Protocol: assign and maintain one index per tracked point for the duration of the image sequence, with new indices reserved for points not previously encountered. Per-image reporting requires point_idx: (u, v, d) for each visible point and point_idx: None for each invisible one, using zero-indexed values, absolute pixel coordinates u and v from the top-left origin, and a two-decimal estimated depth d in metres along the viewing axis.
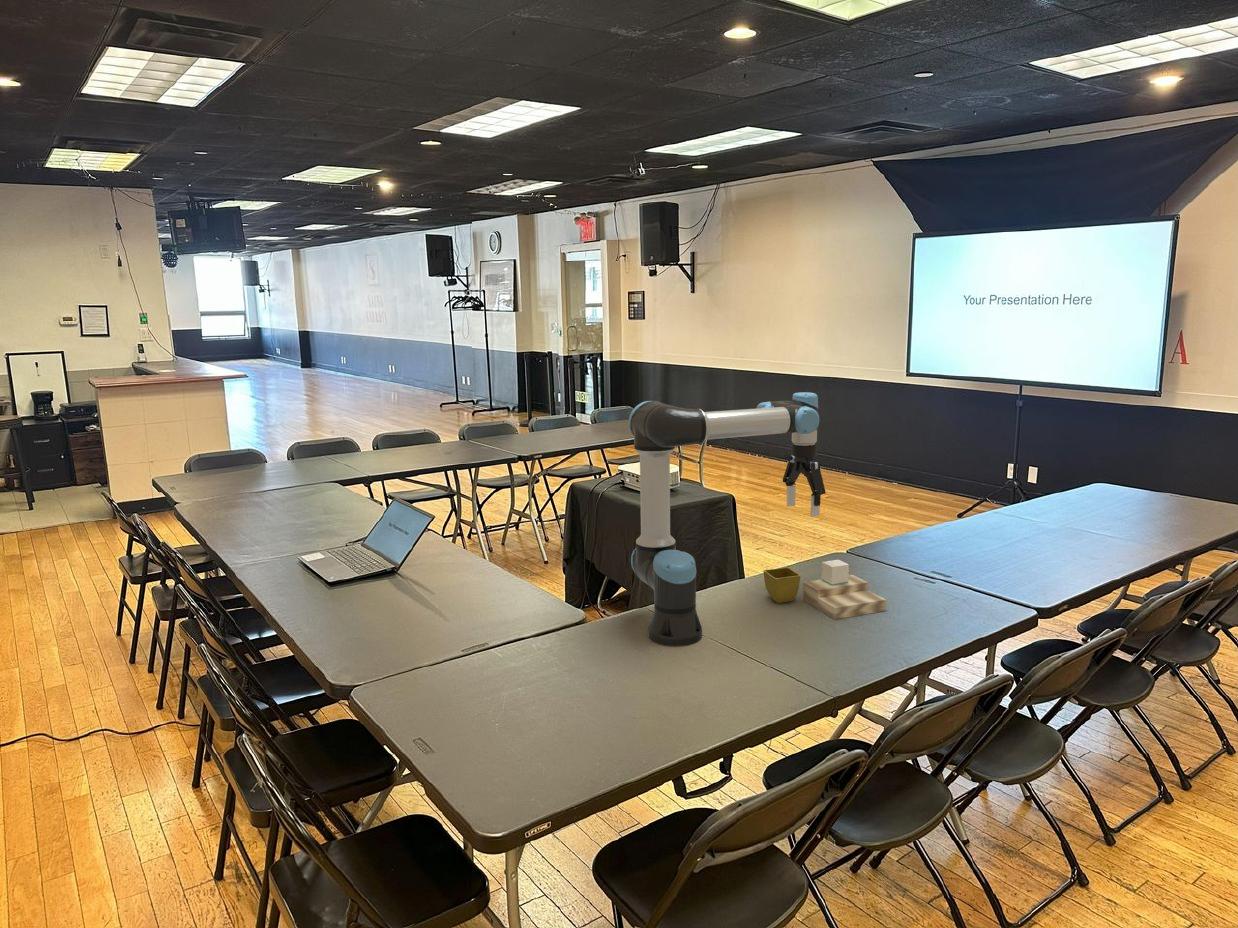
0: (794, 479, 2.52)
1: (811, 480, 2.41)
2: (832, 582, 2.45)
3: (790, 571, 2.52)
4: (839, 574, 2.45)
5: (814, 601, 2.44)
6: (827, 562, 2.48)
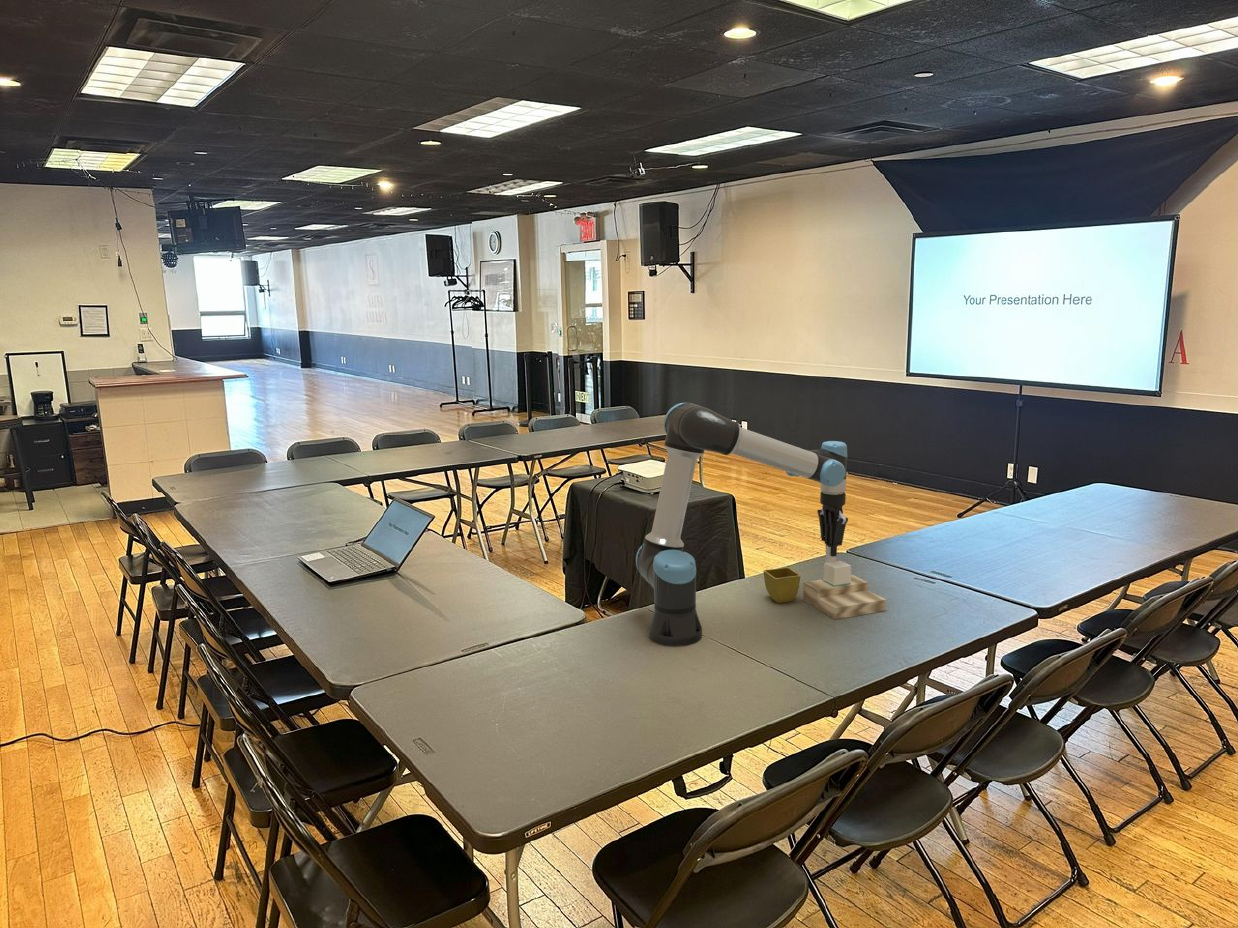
0: None
1: (833, 532, 2.46)
2: (834, 583, 2.44)
3: (790, 571, 2.52)
4: (841, 575, 2.44)
5: (814, 601, 2.44)
6: (829, 563, 2.47)
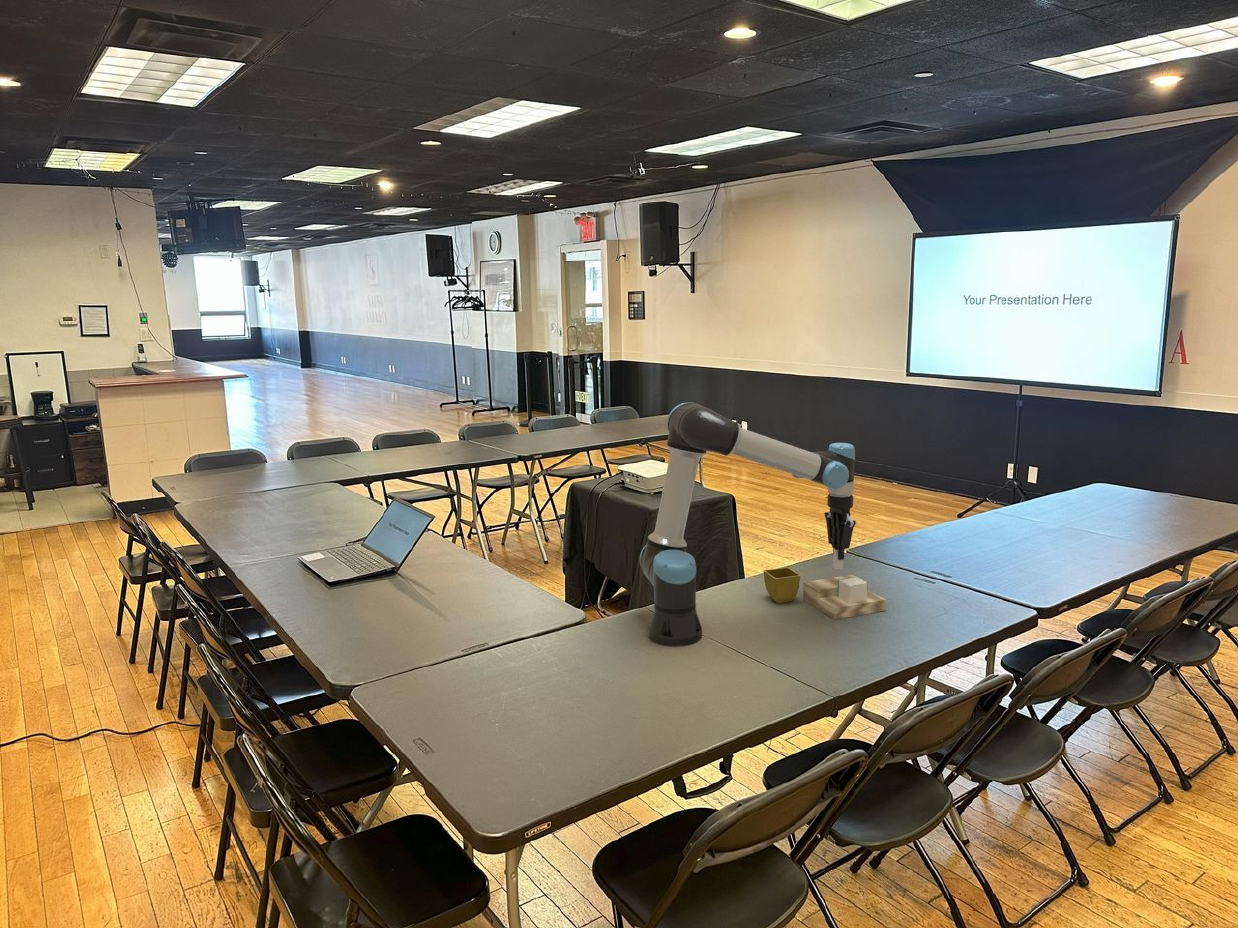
0: None
1: (840, 535, 2.42)
2: None
3: (790, 571, 2.52)
4: None
5: (814, 601, 2.44)
6: (853, 588, 2.37)
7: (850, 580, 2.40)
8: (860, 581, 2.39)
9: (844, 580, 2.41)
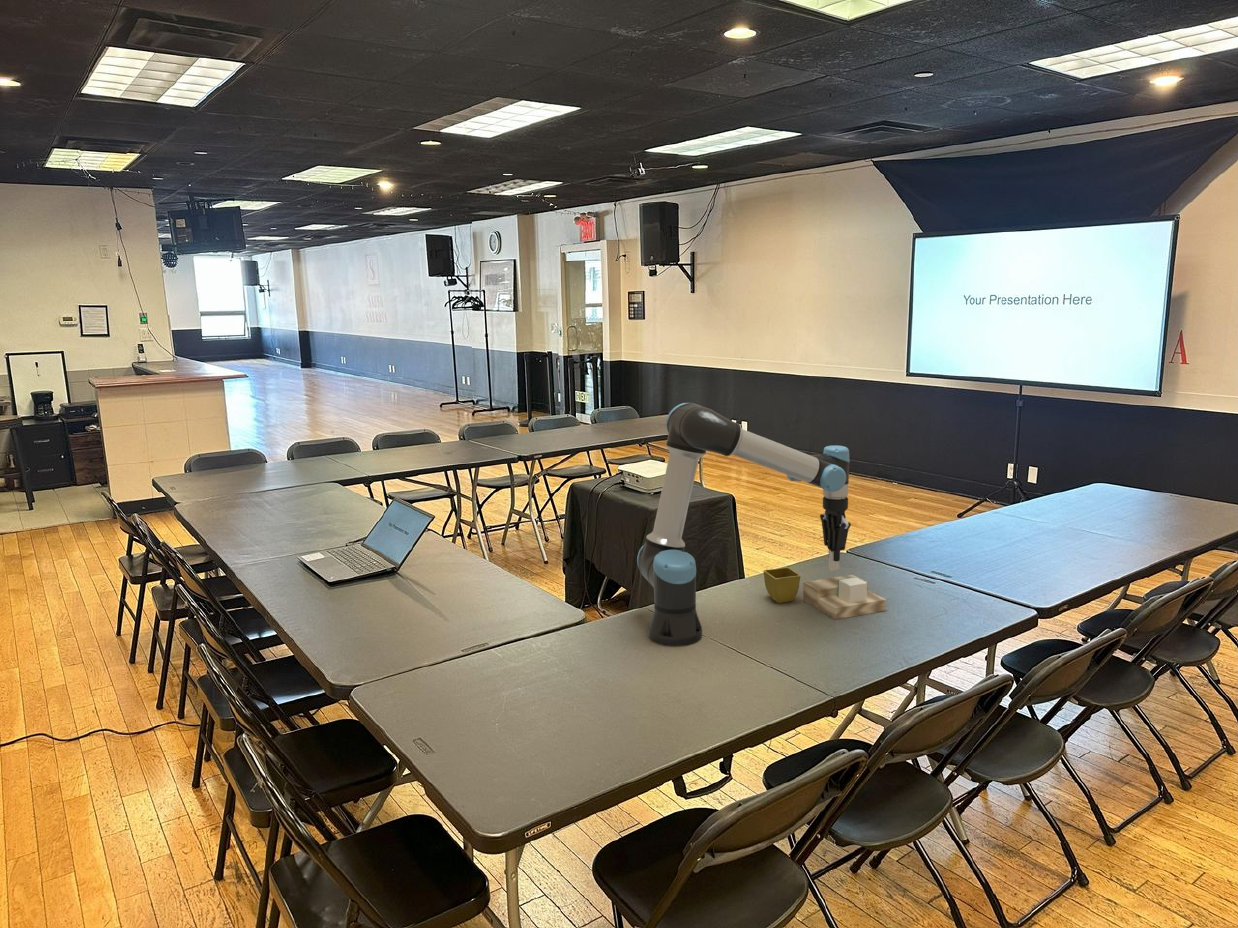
0: None
1: (835, 537, 2.45)
2: None
3: (790, 571, 2.52)
4: None
5: (814, 601, 2.44)
6: (853, 588, 2.37)
7: (850, 580, 2.40)
8: (860, 581, 2.39)
9: (844, 580, 2.41)
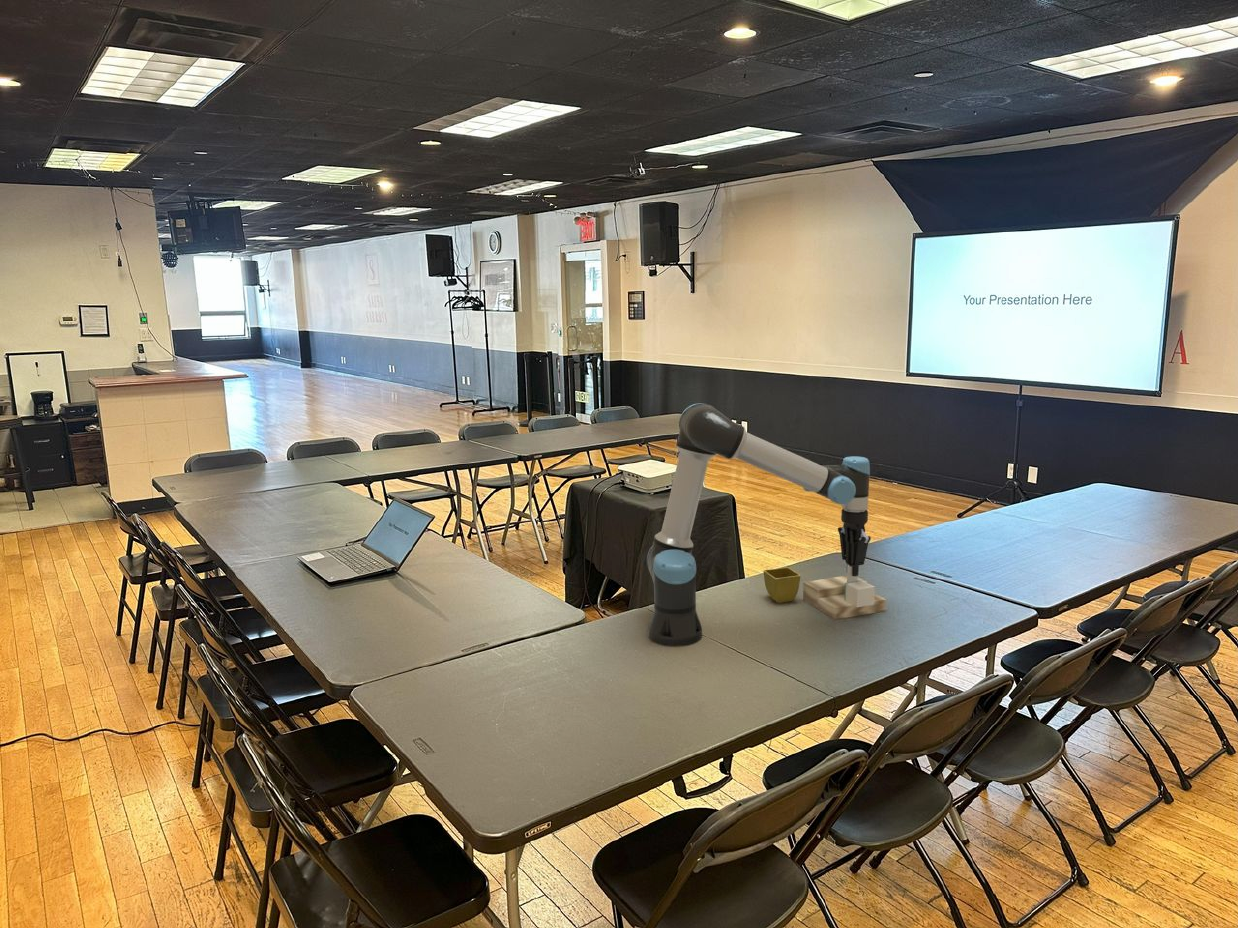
0: None
1: (854, 551, 2.36)
2: None
3: (790, 571, 2.52)
4: None
5: (814, 601, 2.44)
6: (861, 592, 2.33)
7: (857, 584, 2.37)
8: (868, 585, 2.36)
9: (851, 584, 2.37)
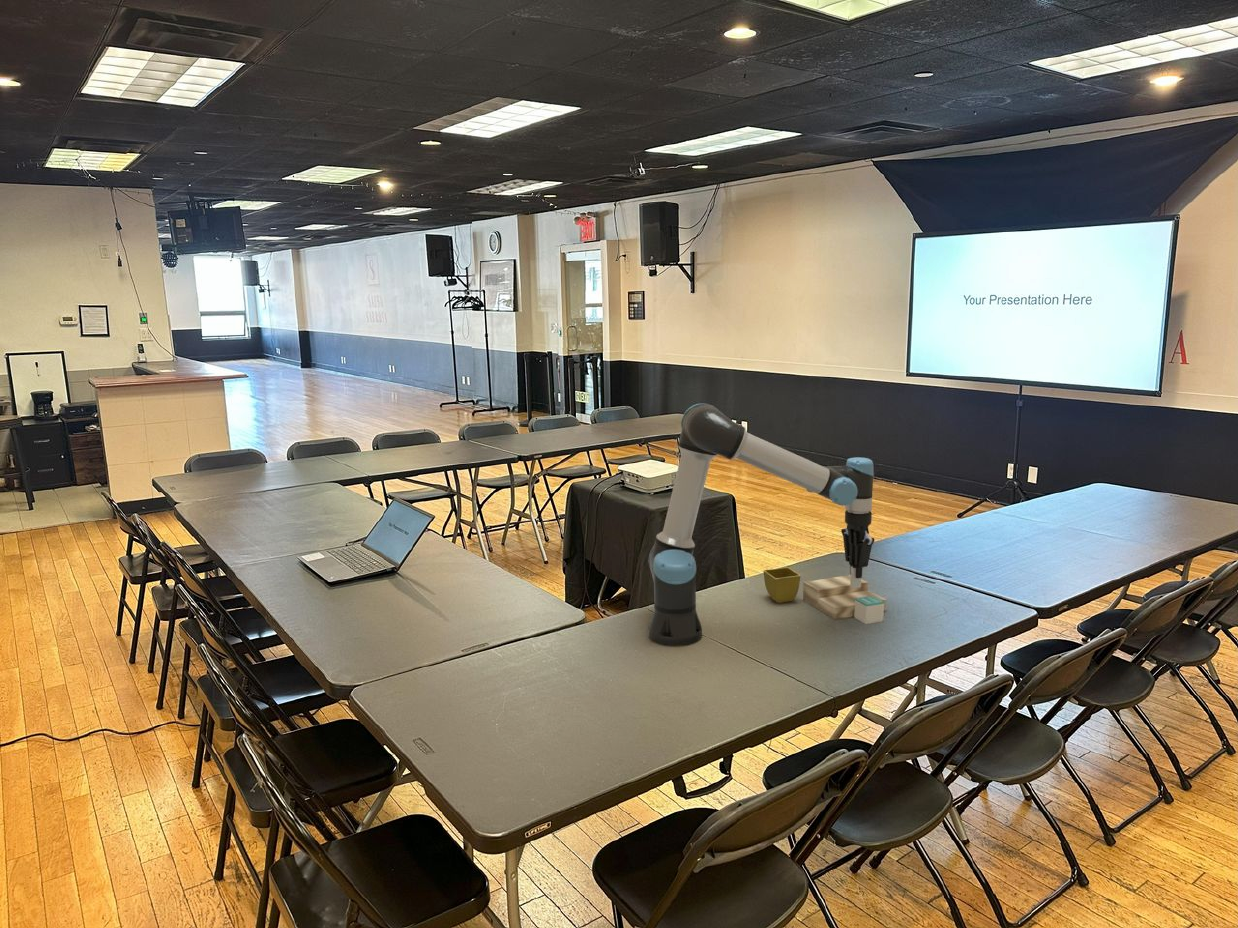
0: None
1: (858, 553, 2.34)
2: None
3: (790, 571, 2.52)
4: None
5: (814, 601, 2.44)
6: None
7: (874, 610, 2.31)
8: (880, 615, 2.32)
9: (870, 608, 2.30)
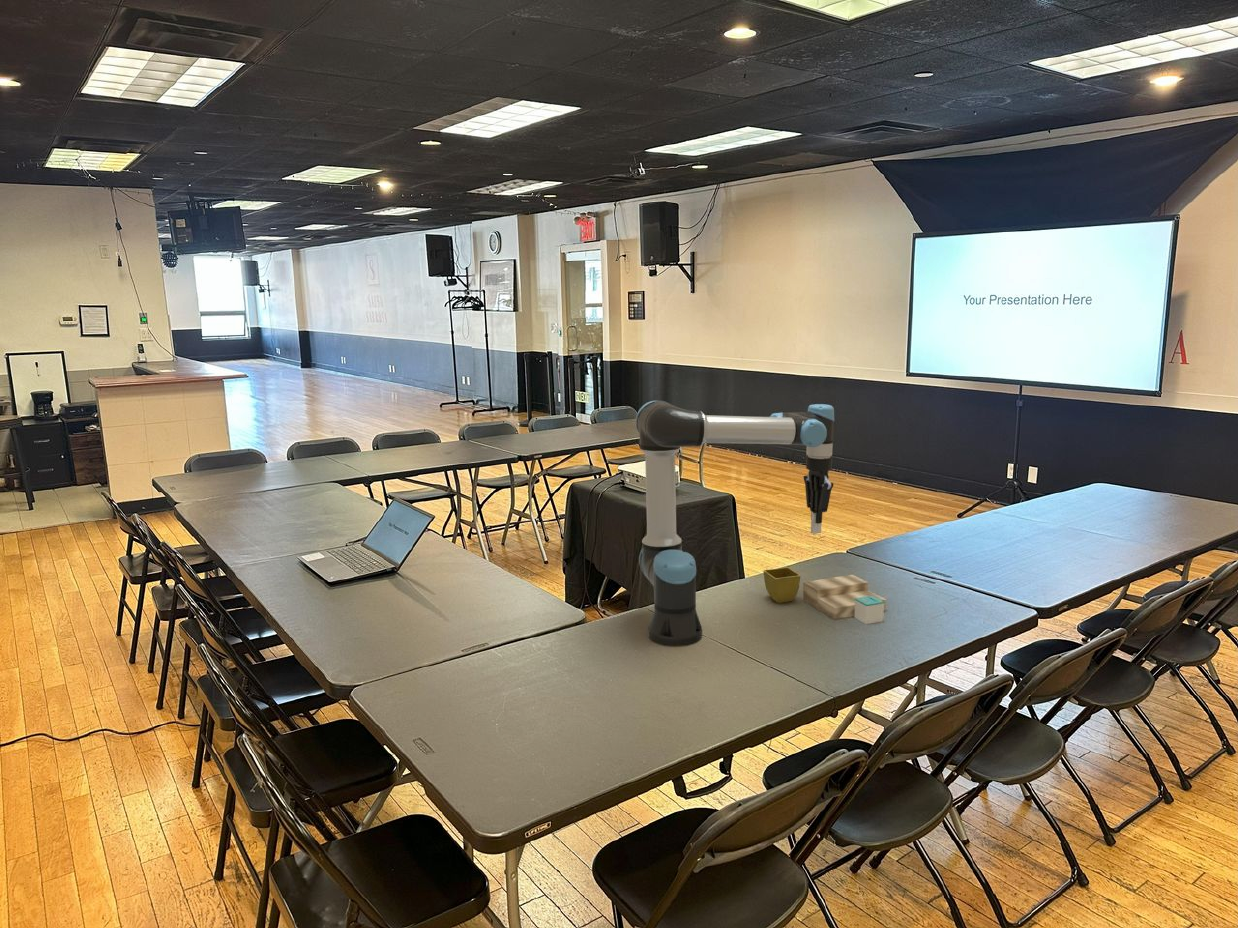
0: None
1: (818, 498, 2.39)
2: None
3: (790, 571, 2.52)
4: None
5: (814, 601, 2.44)
6: None
7: (874, 610, 2.31)
8: (880, 615, 2.32)
9: (870, 608, 2.30)
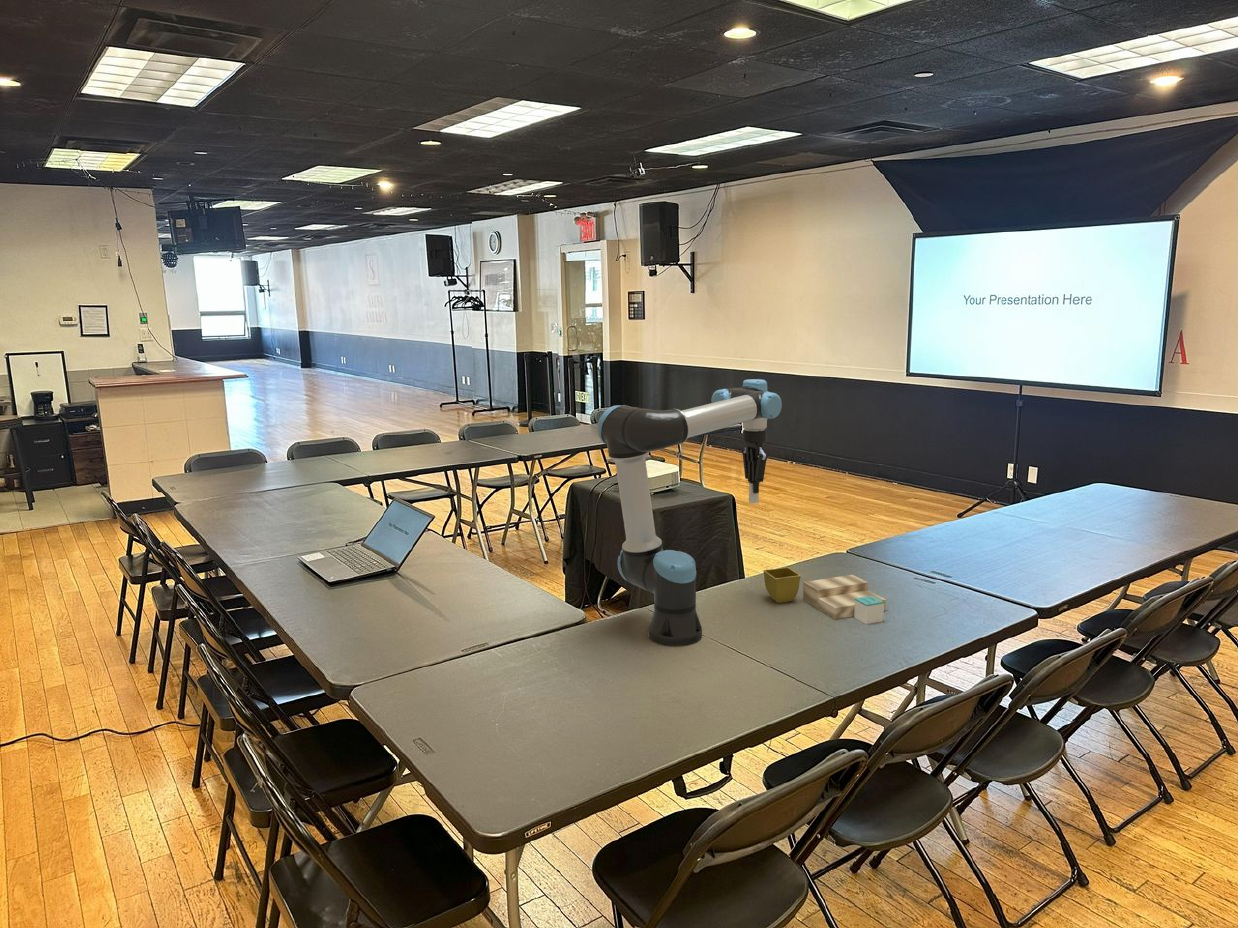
0: None
1: (754, 469, 2.50)
2: None
3: (790, 571, 2.52)
4: None
5: (814, 601, 2.44)
6: None
7: (874, 610, 2.31)
8: (880, 615, 2.32)
9: (870, 608, 2.30)
